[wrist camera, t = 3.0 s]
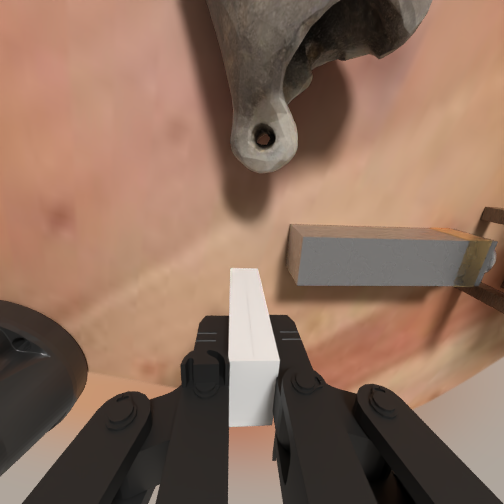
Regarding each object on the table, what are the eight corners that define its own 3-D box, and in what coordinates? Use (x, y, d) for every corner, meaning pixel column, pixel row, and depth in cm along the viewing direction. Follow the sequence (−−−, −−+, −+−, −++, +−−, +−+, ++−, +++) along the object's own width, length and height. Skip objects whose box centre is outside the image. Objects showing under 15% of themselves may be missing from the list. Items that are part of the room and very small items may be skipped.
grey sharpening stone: (285, 265, 22) (296, 286, 19) (290, 223, 21) (303, 236, 17) (457, 267, 24) (498, 286, 20) (472, 229, 23) (519, 241, 19)
